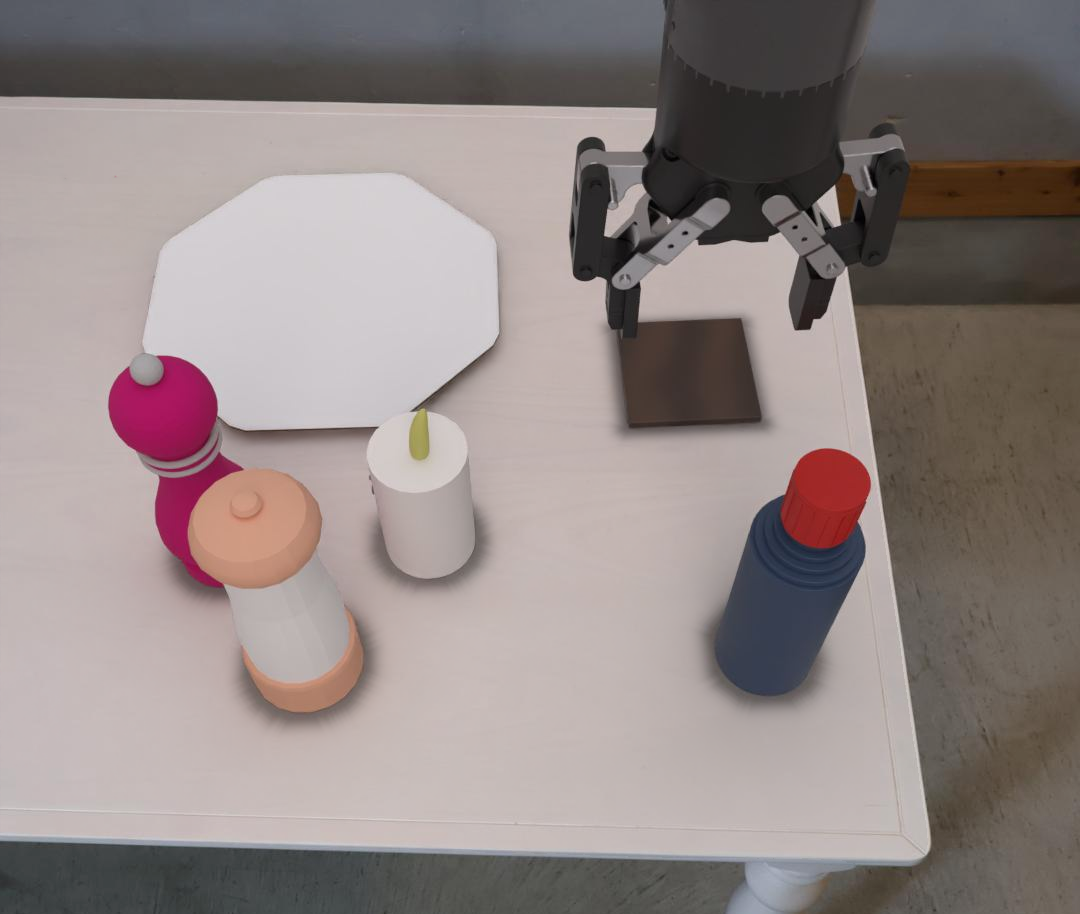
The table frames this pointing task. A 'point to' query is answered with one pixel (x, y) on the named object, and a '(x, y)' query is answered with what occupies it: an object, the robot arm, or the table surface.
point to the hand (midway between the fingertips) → (713, 322)
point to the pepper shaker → (278, 587)
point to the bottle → (782, 604)
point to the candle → (423, 493)
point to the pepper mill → (172, 441)
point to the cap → (825, 498)
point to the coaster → (688, 374)
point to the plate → (326, 300)
